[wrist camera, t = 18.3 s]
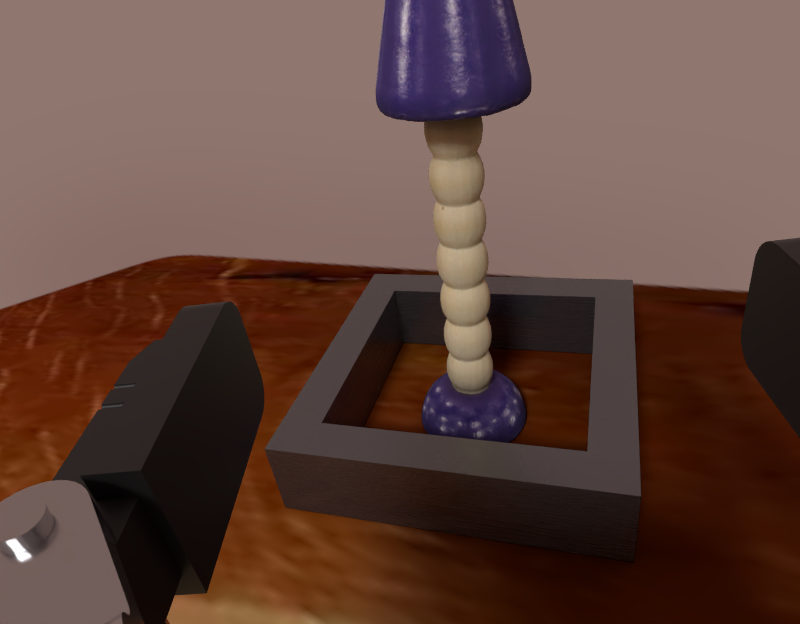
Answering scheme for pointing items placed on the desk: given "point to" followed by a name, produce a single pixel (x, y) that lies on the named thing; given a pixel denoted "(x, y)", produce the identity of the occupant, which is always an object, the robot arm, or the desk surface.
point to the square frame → (469, 458)
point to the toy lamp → (458, 183)
